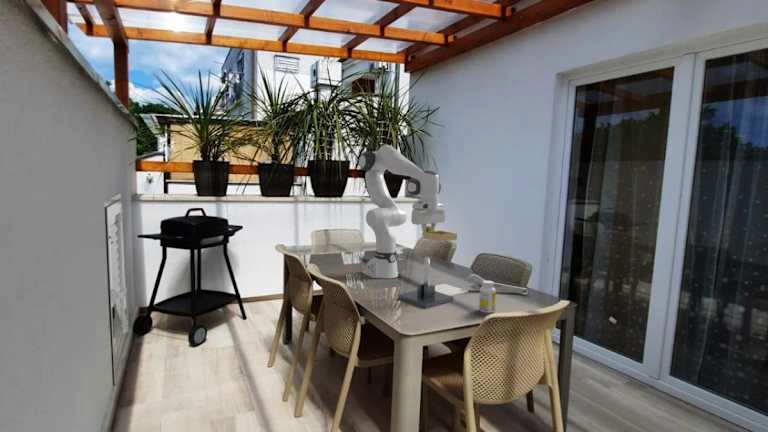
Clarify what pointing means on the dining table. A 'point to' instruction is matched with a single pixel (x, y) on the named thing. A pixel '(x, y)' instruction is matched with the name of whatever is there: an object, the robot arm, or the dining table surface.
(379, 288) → the dining table surface
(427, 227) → the collar
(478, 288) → the wrench
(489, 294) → the supplement bottle
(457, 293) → the pad
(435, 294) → the rod stand
